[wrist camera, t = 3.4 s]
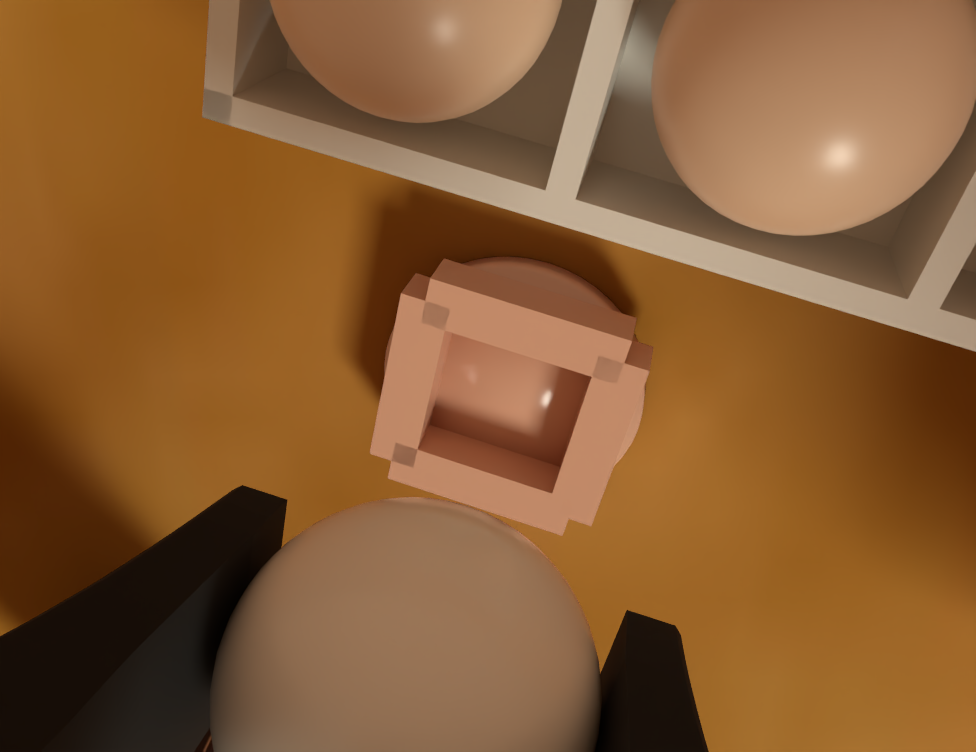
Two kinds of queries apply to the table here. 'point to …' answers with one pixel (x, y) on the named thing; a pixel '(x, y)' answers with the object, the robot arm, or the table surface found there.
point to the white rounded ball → (407, 641)
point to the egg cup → (510, 389)
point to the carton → (654, 127)
